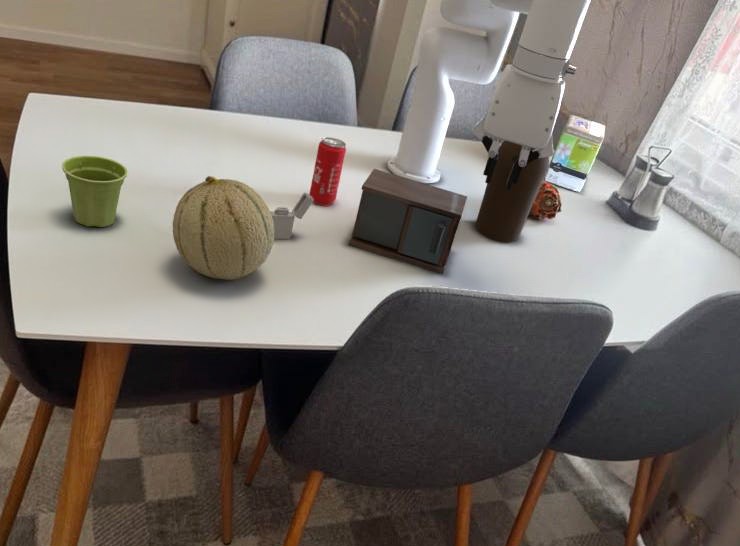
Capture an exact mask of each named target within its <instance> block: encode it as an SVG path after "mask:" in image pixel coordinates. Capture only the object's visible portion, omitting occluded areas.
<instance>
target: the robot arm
mask: <svg viewBox="0 0 740 546" xmlns="http://www.w3.org/2000/svg"><path fill="white" fill-rule="evenodd" d="M590 3H591V0H441V1H440V7H439V8H440V9H439V10H440V15H441V17H442V18H443V19H444V20H445V21H446V22H448V23H450V24H453V25H456V26H461V27H464V28H469V29H473V30H477V31H480V32H485V35H481V34H477V33H472V32H468V31H465V30H461V29H456V28H452V27H447V26H434V27H431V28H429V29H428V30H426V32H425V33H423V36H422V38H421V40H420V45H419V51H418V52H419V53H418V60H417V61H418V62H417V70H416V76H415V81H414V84H413V90H412V94H411V98H410V101H409V106H408V109H407V114H406V117H405V122H404V126H403V130H402V133H401V138H400V142H399V145H398V149H397V153H396V157H392V158H389V160H388V161H387V165H386V166H387V168H388V170H389V171H390V173H392V174H395V175H398V176H401V177H405V178H408V179H411V180H415V181H418V182H421V183H425V184H434V183H438V182H439V181H440V179H441V176H442V174H441V171H440V170H439V169H437V166H438V162H439V159H440V158H441V152H442V149H443V145H444V141H445V138H446V136H447V135H446V134H447V131H448V127H449V125H450V122H451V121H450V120H451V118H452V114H453V112H454V107H455V95H454V92H453V90H452V87H451V85H450V80H454V81H460V82H465V83H470V84H474V85H482V86H483V85H489V84H490V83H492V81H494V80H495V78H496V76H497V75H498V72H499V70H500V67H501V64H502V62H503V59H504V57H505V55H506V51H507V49H508V46H509V44H510V41H511V38H512V36H513V33H514V30H515V27H516V25H517V22H518V19H519V15H520V14H524V15H527V17H526V20H525V23H524V25H523V29H522V31H521V36H520V39H519V41H518V44H517V48H516V51H515V54H514V57H513V60H512V63H511V64H506V65H505V67H504V68H503V71H502V72H501V75H500V77H499V80H498V82H497V84H496V87H495V89H494V91H493V93H492V97H491V100H490V103H489V105H488V108H487V111H486V113H485V114H484V115H483V116H482V118H481V119H479V120H478V122H476V124H474V126H473V127H472V130H471V132H472V134H473V135H474V136H475V137H476V138H477V140H479V141H480V142H482V145H483V146H484V148H485V151H486V153H487V156H488V158H487V161H486V164H485V167H484V170H483V173H482V175H483V176H486V177H485V182H484V183H485V184H487V183H490V181H491V178H492V175H493V172H494V169H495V166H496V163H497V160H498V149H499V147H500V145H501V144H502V143H503V141H505V140H506V141H509V142H512V143H516V144H519V145H522V149H521V152H520V156H519V157H518V158H517V160H516V161H514V164H513V166H512V169H511V172H510V175H509V178H508V181H507V184H506V188H507V189H508V190H510V189H511V186H512V184H517V182H518V179H519V176H520V173H521V171H522V168H523V167H524V166H525V165H526V164H528V163H530V162H532V161H534V160H536V159H538V158H544V157H549V158H550V157H553V154H554V152H555V149H554V144H553V143H554V142H553V131H554V127H555V126H556V125H555V124H556V121H557V118H558V115H559V112H560V109H561V103H562V100H563V96H564V92H565V87H566V81H565V80H564V79H563V78H564V77H566V76H569V75H570V76H572V77H574V76H575V74H576V71H577V67H578V66H577V65H574V64H572V63H571V61H570V58H571V56H572V55H571V54H572V51H573V50H574V48H575V47H574V46H575V44H576V41H577V40H578V39H577V38H578V36H579V33H580V31H581V28H582V25H583V22H584V19H585V16H586V14H587V11H588V9H589V6H590ZM492 137H493V139H492ZM531 148H534V149H533V150H531V151H530V149H531Z"/></svg>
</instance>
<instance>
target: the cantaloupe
mask: <svg viewBox="0 0 740 546" xmlns="http://www.w3.org/2000/svg"><path fill="white" fill-rule="evenodd" d="M270 211H271V210H270V209H269V206H268V204H267V202H265V200H264V199H263V197H262V196H261V195H260V193H258V192H257V191H256V190H255V189H254V188H252V187H250V185H248V184H247V183H244V182H242V181H239V180H236V179H229V178H219V179H218V178H216V177H215V176H211V175H207V176H206V177H205V178H204V180H203V181H201V182H200V183H198V184H195V185H194V186H192V187H191V188H189V189H188V190H187V191H186V192H185V193H184V194H183V195H182V197H181V198H180V199H179V200H178V202H177V204H176V207H175V209H174V214H173V220H172V237H173V242H174V245H175V247H176V250H177V252H178V254H179V255H180V257H181V258H182V260H183V261H184V262H185V264H187V266H189V267H190V268H191V269H192V270H194V271H196V272H197V273H199V274H201V275H203V276H205V277H209V278H212V279H219V280H237V279H239V278H243V277H246V276H247V275H249V274H251V273H253V272H254V271H256V270H257V269H258V268H260V267H261V266H262V265H263V264H264V263H265V262H266V261H267V259H268V257H269V256H270V254H271V252H272V249H273V248H274V247H273V246H274V242H275V239H274V232H275V227H274V222H273V218H272V216H271V213H270Z"/></svg>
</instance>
